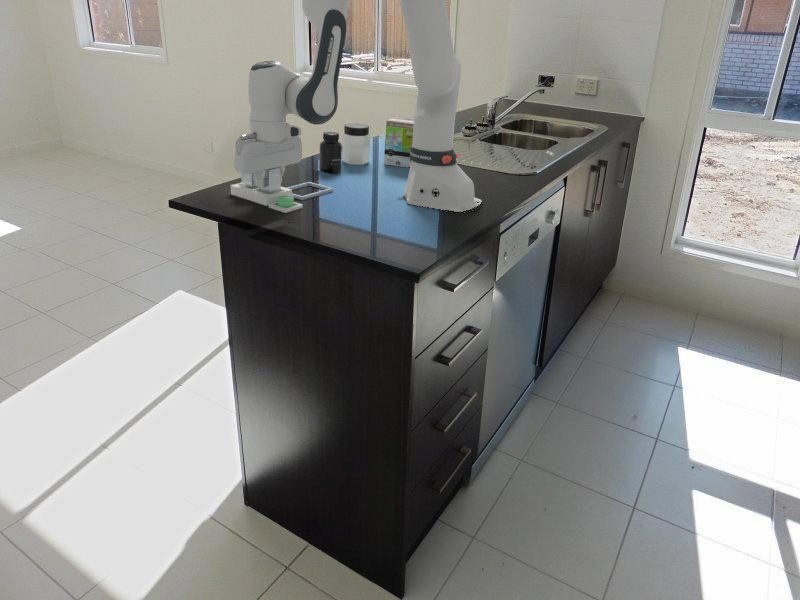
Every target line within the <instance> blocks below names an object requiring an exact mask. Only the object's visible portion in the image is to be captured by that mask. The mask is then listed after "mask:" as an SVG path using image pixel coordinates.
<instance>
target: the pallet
mask: <svg viewBox="0 0 800 600" xmlns="http://www.w3.org/2000/svg"><path fill="white" fill-rule="evenodd" d="M229 187H230V195H232V196H235V197H238V198H241V199H244V200H248V201H250V202H254V203H256V204H259V205H262V206H265V207H267V206H268V207H269V204H271V203H275V202H278V200H277V198H278V197H279V196H292V193H293V190H291V189H288V188H287V187H284V186H281V192H277V193H274V194H270V195H269V194H266V193H263V192H259V188H255V189H250V188H247V187H243V186H242V182H238V183H235V184H234V183H233V184H230V186H229Z"/></svg>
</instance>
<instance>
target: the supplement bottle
mask: <svg viewBox="0 0 800 600" xmlns="http://www.w3.org/2000/svg"><path fill="white" fill-rule="evenodd" d="M322 139H323V141H321V142H320V143H319V160H318V161H319V165H318V166H319V167H318V168H319V169H318V170H319V172H321V173H322V172H323V173H327V174H330V175H338V174H340V173H341V172H342V151H343V144H341V142H340V141H339V140H340V133H339V132H335V131H324V132H323V136H322Z"/></svg>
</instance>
